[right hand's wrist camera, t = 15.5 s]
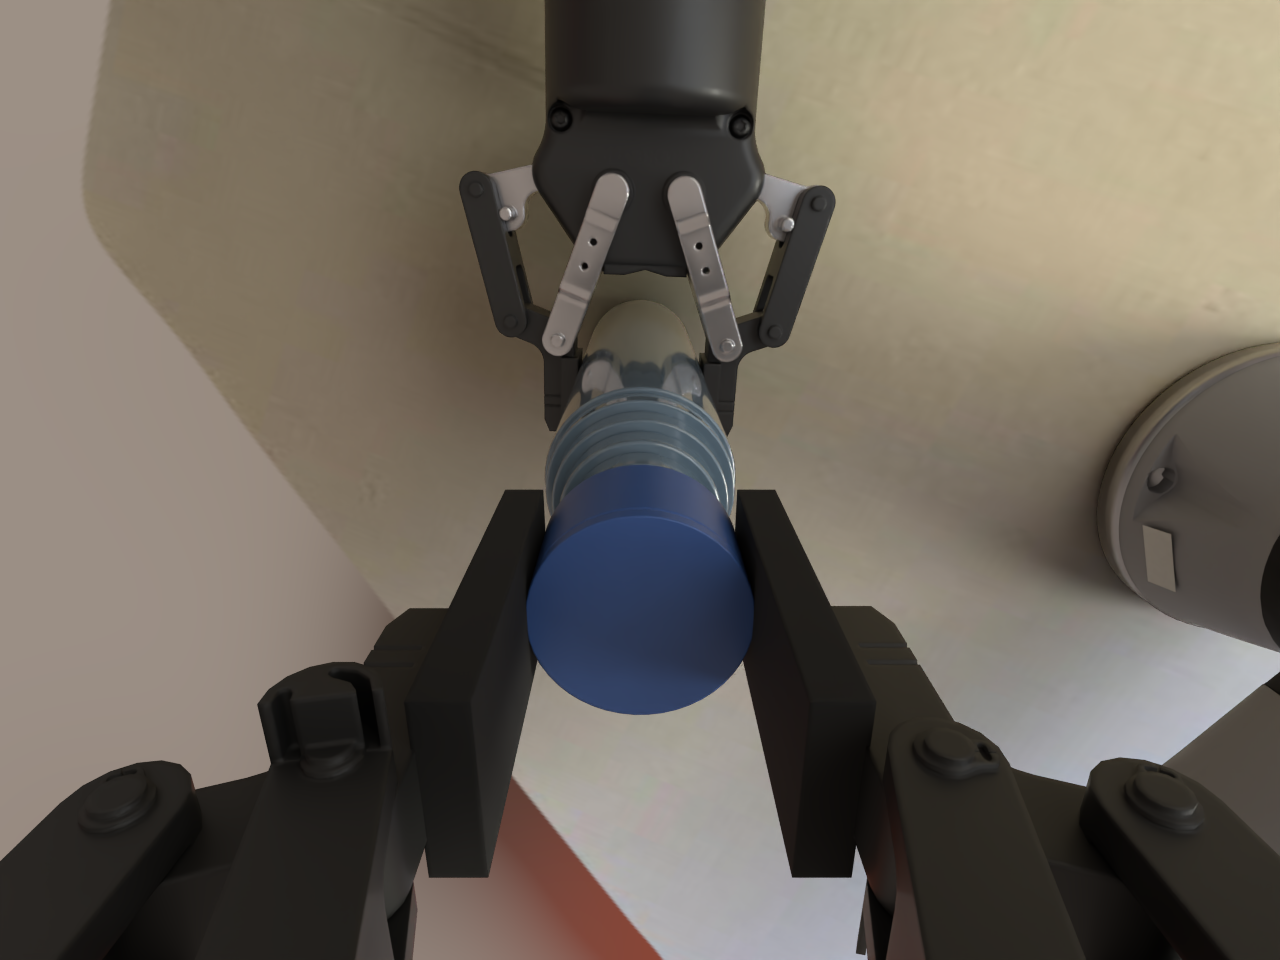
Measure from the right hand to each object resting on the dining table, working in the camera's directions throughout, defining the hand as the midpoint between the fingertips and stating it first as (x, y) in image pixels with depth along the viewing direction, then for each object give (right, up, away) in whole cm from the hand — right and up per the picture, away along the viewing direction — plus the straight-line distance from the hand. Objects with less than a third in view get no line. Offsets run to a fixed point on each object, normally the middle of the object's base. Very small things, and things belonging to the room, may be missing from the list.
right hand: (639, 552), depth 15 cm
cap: (0, -1, -2) cm, 2 cm away
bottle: (0, +8, +21) cm, 22 cm away
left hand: (0, +3, +15) cm, 16 cm away
